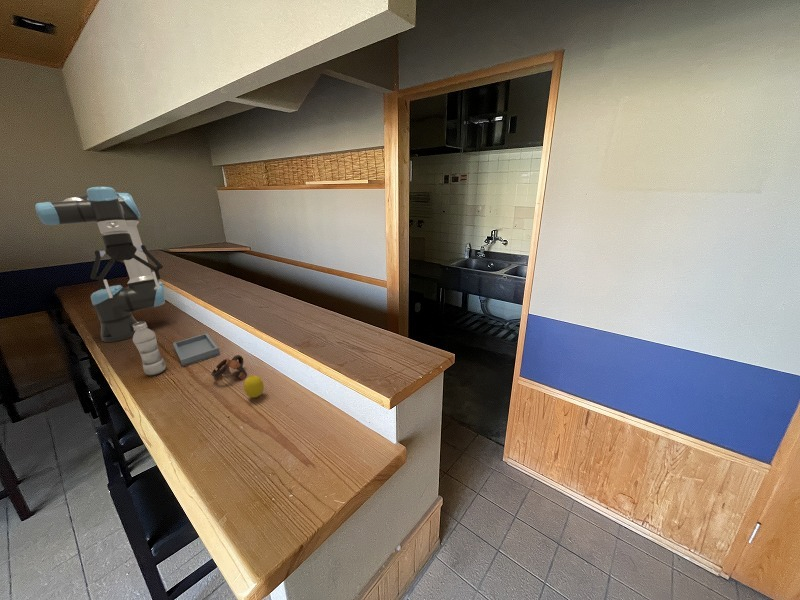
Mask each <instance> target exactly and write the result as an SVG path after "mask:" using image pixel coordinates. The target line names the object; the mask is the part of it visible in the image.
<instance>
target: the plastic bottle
mask: <svg viewBox="0 0 800 600" xmlns="http://www.w3.org/2000/svg"><path fill="white" fill-rule="evenodd" d="M137 322H138V323H135V324H133V328H134V330H135V333H134V336H133V337H132V342H133V344H134V345H135V347H136V349H137V350H138V353H139V355H140V358H141V361H142V362H141V363H142V369H143V373H145V374H146V375H147V376H155V375H159V374H161V373H162V372H164V371H165V369H166V368H167V365H166V362H165V360H164V358H163V357H162V355H161V352H160V350H159V347H158V343H157V342H158V341H157V336H156V333H155V331H153V330H152V329H150V328H148V327H149V326H148V325H147V322H146V321H137Z"/></svg>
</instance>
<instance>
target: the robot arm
mask: <svg viewBox="0 0 800 600" xmlns="http://www.w3.org/2000/svg"><path fill="white" fill-rule="evenodd" d="M34 207H35V212H36V215H37V217H38V219H39V221H40V222H41V223H42V224H43V225H45V226H60V225H71V224H73V225H74V224H83V223H95V222H96V224H97V226H98V229H99V233H100V234H101V235H102V241H103V244H104V247H105V250H95V251H94V254H95V255H94V256H95V258H94V263H93V265H92V269H91V273H90V279H91V280H95V281H98V282H99V285H100V289H98V290H97V291H94V292H92V294H90V300H91V303H92V306H93V309H94V311H95V312H96V315H97V317H98V321H99V322H100V339H101V341H102V342H103V341H104V343H114V342H119V341H120V342H121V341H124V340H128V339H131V338H133V336H134V333H135V330H134V328H133V324H135V323H138V322H139V321H137V319H135V317H134V316H133V312H137V311H141V310H145V309H146V310H147V309H151V308H156V307H159V306H162V305H165V303H166V300H165V299H166V297H165V291H164V285H163V282H162V281H160V280H161V276H160V272H159V271H160V270H162V269H163V267H164V266H163V265H162V264H161V262H159V260H157V259H156V258H155V257H154V256H153V255H152V254H151V253H150V252H149V251H148V249H147V248H146V247H147V246H146V245H144V244H143V243H142V238H141V236H140V233H139V229H138V227H137V225H138V224H139V223H140V220H139V219H141V218H142V215H141V213H140V211H139V209H138V207H137V204H136V203H135V201H134V198H133V196H132V195H131V194H130V193H128V192H116V189H114V188H113V187H111V186H93V187H89V188H87V190H86V194H81V195H76V196H73V197H68V198H65V199H64V200H60V201H45V202H37V203H36V204H35V206H34ZM104 255H107V256H108V257H110V259H109V261H107V264H106V265H105V266H104V268H103V270H102V271H101V272H100V274H99V275H97V274H98V271H99V267H100V264H101V259H102V258H103V257H104ZM148 259H149V260H150V261H151V262H152V263H153V264H154V265H156V266H154V265H152V264H151V263H149V261H148ZM115 261H116V262H124V265H125V268H126V271H127V274H128V276H129V280H128V282H127V283H126V284H127V287H123V286H122V285H121V284H116V285H109V283H108V280H107V279H104V278H105V277H106V275H107V273H108V272H110V271H109V270H110V269H111V268H112V266H113V265H114V263H115Z"/></svg>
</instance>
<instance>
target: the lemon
mask: <svg viewBox="0 0 800 600" xmlns="http://www.w3.org/2000/svg"><path fill="white" fill-rule="evenodd" d="M264 387H265V386H264V382H263V380H262V378H261V377H260V376H257V375H250V376H248V377H247V378H246V379H245V380H244V384H243V389H244V392H245V394H246V396H247V397H249V398H258V397H259V396H261V395H262V393H263V392H264V389H265V388H264Z"/></svg>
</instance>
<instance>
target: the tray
mask: <svg viewBox="0 0 800 600" xmlns="http://www.w3.org/2000/svg"><path fill="white" fill-rule="evenodd" d="M172 345H173V348H174V350H175V353H176V355H177V356H178V359H179V362H180V363H181V365H183V366H182V368H184V366H185V367H188V366H190V365H189V364H191V365H193V364H192V363H194V364H196V363H195V362H197V363H199V362H198V361H200V360H203V361H205V360H204V359H206V360H208V358H209V359H212V358H214V357H217V356H220V355H221V352H220V349H219V347H218V346H217V344H216V343H215V341H214V340H213V339H212V338H211V336H210V335H209V333H208V332H206V333H202V334H199V335H196V336H192V337H189V338H186V339H183V340H179V341H174V342H172ZM211 357H212V358H211ZM200 362H201V361H200ZM187 365H188V366H187Z"/></svg>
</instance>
